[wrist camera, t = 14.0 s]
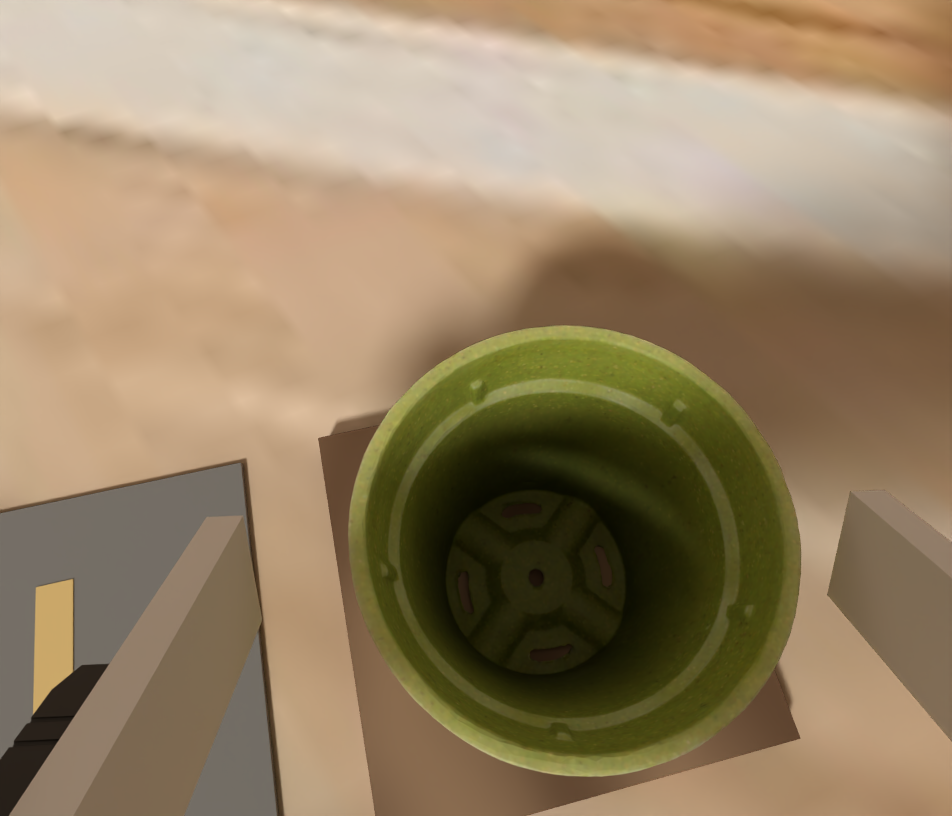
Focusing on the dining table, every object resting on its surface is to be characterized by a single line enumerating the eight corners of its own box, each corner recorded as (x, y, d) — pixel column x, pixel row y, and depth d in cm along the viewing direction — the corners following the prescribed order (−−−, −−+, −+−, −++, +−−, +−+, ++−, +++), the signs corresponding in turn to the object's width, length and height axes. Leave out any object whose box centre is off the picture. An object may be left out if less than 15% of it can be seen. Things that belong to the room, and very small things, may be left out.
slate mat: (242, 464, 24) (240, 462, 23) (284, 875, 19) (282, 878, 19) (-136, 544, 22) (-142, 542, 22) (-192, 1009, 18) (-201, 1013, 17)
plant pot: (372, 472, 23) (321, 363, 15) (626, 420, 24) (710, 291, 16) (419, 766, 19) (386, 835, 11) (716, 693, 20) (882, 709, 12)
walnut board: (651, 377, 25) (659, 366, 24) (785, 735, 21) (800, 738, 20) (323, 447, 24) (318, 438, 23) (385, 847, 19) (381, 856, 18)
